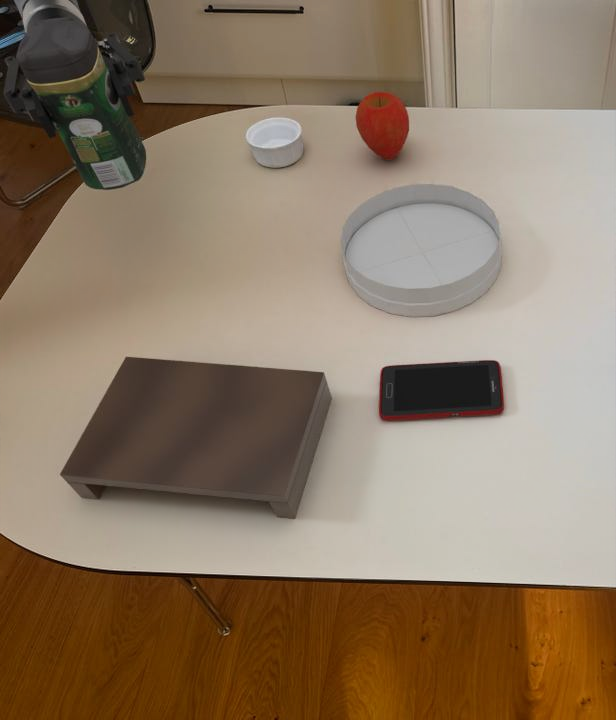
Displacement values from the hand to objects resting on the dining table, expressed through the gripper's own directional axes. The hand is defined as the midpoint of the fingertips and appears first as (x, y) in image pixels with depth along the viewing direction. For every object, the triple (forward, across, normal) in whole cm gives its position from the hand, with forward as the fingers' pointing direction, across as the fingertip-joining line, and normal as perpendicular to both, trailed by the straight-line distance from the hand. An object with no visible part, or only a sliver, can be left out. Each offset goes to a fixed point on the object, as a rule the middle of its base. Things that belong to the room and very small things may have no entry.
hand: (87, 115), depth 82 cm
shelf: (+33, +2, -24) cm, 41 cm away
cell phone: (+40, -24, -24) cm, 52 cm away
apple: (-8, -38, -24) cm, 46 cm away
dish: (+17, -33, -24) cm, 44 cm away
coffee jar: (-5, 0, -11) cm, 12 cm away
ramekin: (-18, -23, -24) cm, 38 cm away
